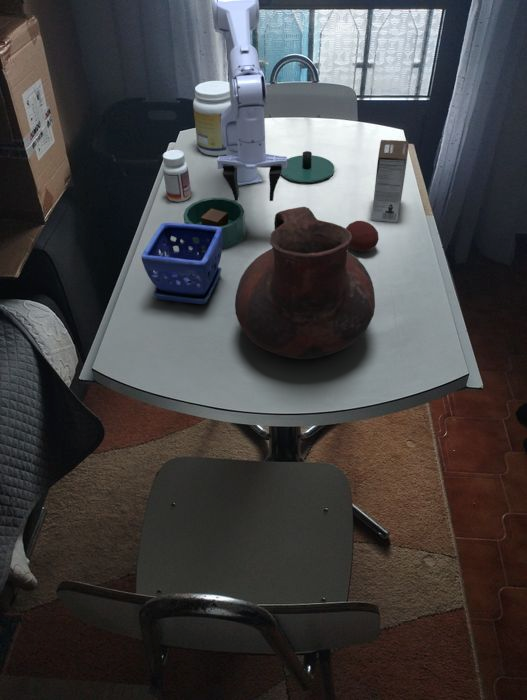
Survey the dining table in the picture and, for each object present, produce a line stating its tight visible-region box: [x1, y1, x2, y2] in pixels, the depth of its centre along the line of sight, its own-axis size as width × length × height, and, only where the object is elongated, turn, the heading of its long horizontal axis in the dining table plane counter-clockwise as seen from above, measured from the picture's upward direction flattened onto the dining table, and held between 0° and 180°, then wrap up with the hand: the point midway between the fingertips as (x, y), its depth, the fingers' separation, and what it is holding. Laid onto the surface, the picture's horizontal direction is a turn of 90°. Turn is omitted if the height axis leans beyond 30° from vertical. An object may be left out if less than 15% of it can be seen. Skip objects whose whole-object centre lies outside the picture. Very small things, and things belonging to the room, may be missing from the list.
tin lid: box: [281, 150, 335, 183], centre depth 158 cm, size 15×15×5 cm
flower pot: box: [141, 222, 223, 305], centre depth 120 cm, size 13×13×12 cm
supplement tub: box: [192, 80, 231, 157], centre depth 166 cm, size 12×12×17 cm
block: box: [201, 209, 228, 227], centre depth 137 cm, size 4×4×4 cm
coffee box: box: [371, 139, 410, 223], centre depth 138 cm, size 9×6×16 cm
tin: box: [183, 197, 247, 251], centre depth 137 cm, size 14×14×6 cm
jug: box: [234, 206, 376, 360], centre depth 104 cm, size 25×25×25 cm
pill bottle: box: [162, 149, 192, 203], centre depth 148 cm, size 6×6×11 cm
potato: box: [346, 220, 380, 252], centre depth 131 cm, size 7×8×6 cm
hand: (254, 198), depth 131 cm, fingers open, 7 cm apart
